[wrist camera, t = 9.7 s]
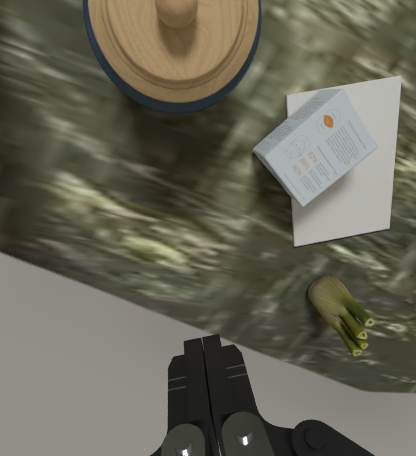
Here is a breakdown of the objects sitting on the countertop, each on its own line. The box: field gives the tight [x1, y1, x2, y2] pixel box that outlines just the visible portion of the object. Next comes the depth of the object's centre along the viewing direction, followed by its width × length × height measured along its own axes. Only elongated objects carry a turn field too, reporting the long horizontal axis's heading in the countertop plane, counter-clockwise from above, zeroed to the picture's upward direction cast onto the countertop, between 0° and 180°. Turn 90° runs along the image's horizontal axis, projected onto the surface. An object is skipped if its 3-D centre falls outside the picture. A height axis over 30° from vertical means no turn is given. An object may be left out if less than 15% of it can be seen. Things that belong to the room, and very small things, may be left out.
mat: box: [286, 76, 402, 247], centre depth 41 cm, size 20×14×1 cm
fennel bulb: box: [308, 275, 375, 357], centre depth 43 cm, size 6×5×12 cm
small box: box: [253, 89, 378, 207], centre depth 37 cm, size 8×6×10 cm
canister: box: [83, 0, 261, 113], centre depth 26 cm, size 13×13×18 cm
